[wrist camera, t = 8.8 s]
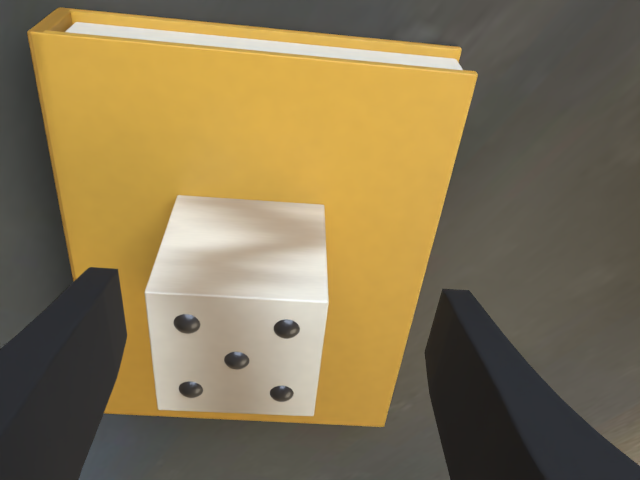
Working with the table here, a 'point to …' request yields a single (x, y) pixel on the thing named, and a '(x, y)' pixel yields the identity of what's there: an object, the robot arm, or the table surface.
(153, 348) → the die
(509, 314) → the table surface
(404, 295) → the book
